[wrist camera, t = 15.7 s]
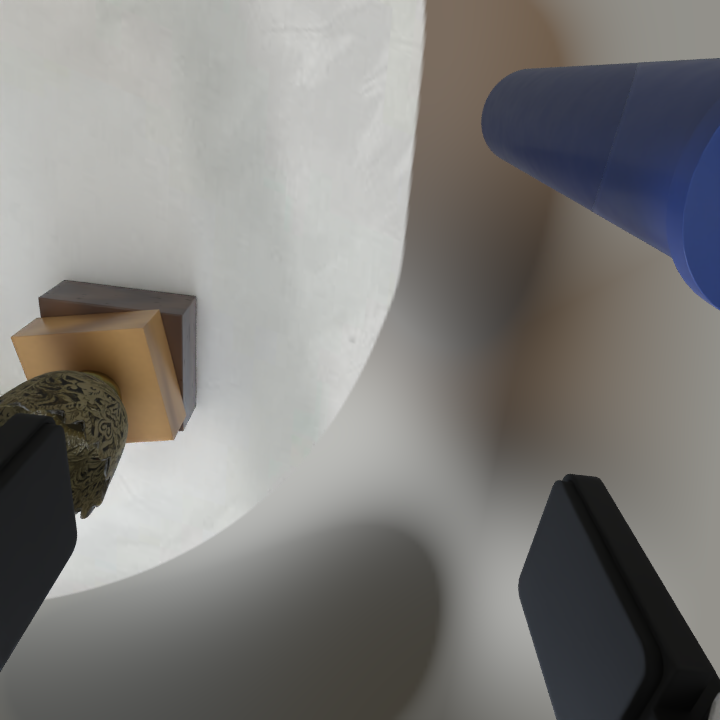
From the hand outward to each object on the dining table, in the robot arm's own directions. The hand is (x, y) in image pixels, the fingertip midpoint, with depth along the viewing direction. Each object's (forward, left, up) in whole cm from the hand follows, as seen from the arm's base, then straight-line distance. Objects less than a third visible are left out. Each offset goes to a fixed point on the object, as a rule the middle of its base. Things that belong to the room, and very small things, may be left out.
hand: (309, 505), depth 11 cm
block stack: (+14, +12, -28) cm, 34 cm away
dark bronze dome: (+14, +12, -22) cm, 29 cm away
